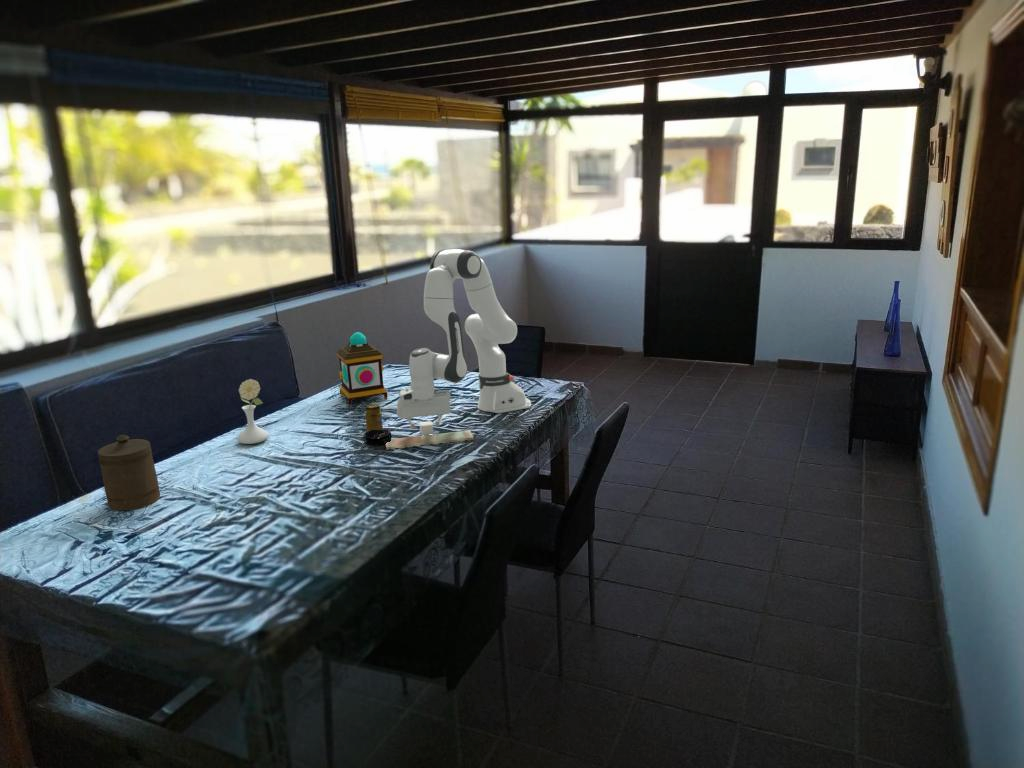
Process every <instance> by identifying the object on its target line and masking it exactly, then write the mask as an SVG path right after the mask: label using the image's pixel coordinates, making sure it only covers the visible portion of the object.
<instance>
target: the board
mask: <svg viewBox="0 0 1024 768" xmlns="http://www.w3.org/2000/svg"><path fill="white" fill-rule="evenodd" d="M390 439H391V441H390V442H387V443H386V444H385V448H386V451H387V450H388V451H389V449H391V450H396V449H395V448H399V449H405V447H408V448H414V447H413V446H417V447H421V446H420V445H425V446H431V445H430V444H434V445H439V444H438V443H443V444H449V443H450V442H451V443H459V441H460V442H466V441H465V440H468V441H474V440H475V438H474V436H473V434H472V431H471V430H469V429H468V430H459V431H451V432H443V433H441V432H440V433H433V435H424V436H421V435H417V436H406V437H399V438H390ZM451 443H450V444H451Z"/></svg>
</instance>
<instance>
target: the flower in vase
mask: <svg viewBox="0 0 1024 768" xmlns="http://www.w3.org/2000/svg"><path fill="white" fill-rule="evenodd" d="M260 386H261V385H260V384H259V382H258V380H255V379H252V378H249V379H246V380H245V381H243V382H241V384H240V385H239V388H238V392H239V395H240V399H241V401H242V402H245V403H247V405H243V406H242V407H241V409H242V410H243V411H244V413H245V416H246V421H247V425H246V427H245V428H244V430H242V431H241V432H240V433H239V435H238V436H237V438H236V439H237V441H238V443H241V444H245V445H253V444H258V443H261V442H264V441H265V440H267V439H268V438H269V435H270V434H269V433H268V432H267V431H266V430H264V429H263V428H261V427H259V426H257V425H256V423H255V420H254V411H255V409H256V407H257V406H259V405H262V404H264V402H262V400H261V399H260V398H259V397H258V395H259V394H260V391H261V387H260ZM251 400H252V401H251ZM250 401H251V402H250ZM253 403H254V404H253Z"/></svg>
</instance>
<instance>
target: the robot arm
mask: <svg viewBox="0 0 1024 768" xmlns="http://www.w3.org/2000/svg"><path fill="white" fill-rule="evenodd" d="M491 277H492V276H491V274H490V271H489V269H488V266H487V265H486V263H485V261H484V260H483V259H482V258H481V257H480V256H479V255H478V253H476V252H474V251H472V250H469V249H460V248H459V249H458V248H455V249H440V250H436V251H435V252H434V253H433V254H432V255H431V258H430V262H429V270H428V271H427V272H426V277H425V281H424V287H423V288H424V289H423V309H424V313H425V315H426V316H427V317H428V318H429V319H430V320H431V321H432V322H433V323H436V324H437V325H439V326H440V327H441V328H442V329H443V330H444V331H445V333H446V337H447V346H448V354H443V353H437V352H434V351H432V350H431V349H430V348H428V347H420V348H416V349H414V350H412V351H411V352H410V354H409V360H408V366H409V367H408V368H409V369H408V370H409V375H410V386H409V387H406V388H404V389H402V390H399V398H398V400H397V404H396V406H397V407H396V415H397V417H398V419H406V420H407V422H408V423H409V426H410V429H415V428H416V427H415V422H412V421H411V420H412V418H419V417H430V416H437V419H435V421H434V424H435V427H438V426H440V422H441V420H442V418H443V415H449V414H450V413H451V412H452V407H451V402H450V400H451V392H450V391H449V390H446V389H442V390H435V382H434V379H438V380H441V381H447V382H449V383H453V384H457V383H459V382H461V381H462V380H464V378H465V377H466V376H467V374H468V364H467V363H468V362H467V359H466V357H465V356H466V355H465V349H464V340H463V331H462V323H461V319H460V315H459V314H458V313H457V312H456V309H455V304H454V286H453V285H454V283H455V281H456V279H462V283H463V287H464V291H465V294H466V297H467V301H468V305H469V306H470V308H471V309H472V311H474V313H472V314H470V315H468V317H467V318H466V320H465V322H464V330H465V333H466V335H468V337H470V339H471V341H472V343H473V345H474V348H475V352H476V354H477V360H478V370H479V371H478V373H479V374H478V388H479V397H478V403H477V409H478V410H480V411H482V412H483V411H484V412H490V413H491V412H492V413H495V414H502V413H506V412H513V411H519V410H524V409H528V408H529V409H530V408H532V402H531V400H530V399H529V398H527V397H526V395H525V392H524V391H525V390H524V389H523V388H522V387H521V386H519V385H517V384H516V383H515V382H513V381H514V379H515V377H514V376H513V375H511V374H510V373H509V372H507V368H506V367H507V364H506V363H507V362H506V361H507V360H506V354H505V353H504V351H503V350H502V349H501V348H500V347H499V344H500V345H503V344H504V345H505V344H510V343H512V342H513V341H514V340H515V339H516V337H517V335H518V325H517V324H516V322H515V321H514V320H513V319H511V317H509V315H508V314H507V313H506V311H505V310H504V309H503V307H502V305H501V304H500V302H499V300H498V297H497V295H496V291H495V287H494V285H493V280H492V278H491Z"/></svg>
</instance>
